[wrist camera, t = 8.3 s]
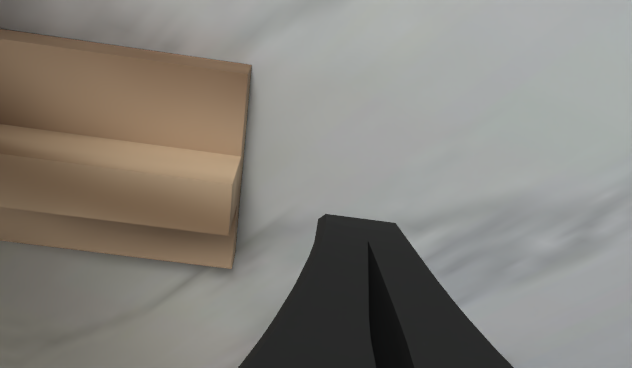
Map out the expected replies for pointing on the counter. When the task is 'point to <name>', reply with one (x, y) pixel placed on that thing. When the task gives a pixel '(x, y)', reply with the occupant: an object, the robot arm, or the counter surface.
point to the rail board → (127, 114)
